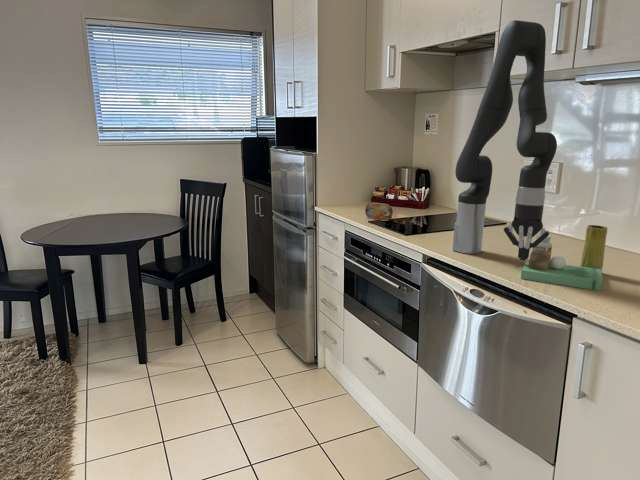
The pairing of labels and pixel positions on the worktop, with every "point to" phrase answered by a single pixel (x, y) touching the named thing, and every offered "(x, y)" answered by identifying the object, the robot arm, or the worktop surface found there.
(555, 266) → the ball
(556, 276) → the green
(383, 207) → the tin
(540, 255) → the block
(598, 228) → the vase
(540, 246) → the supplement bottle
